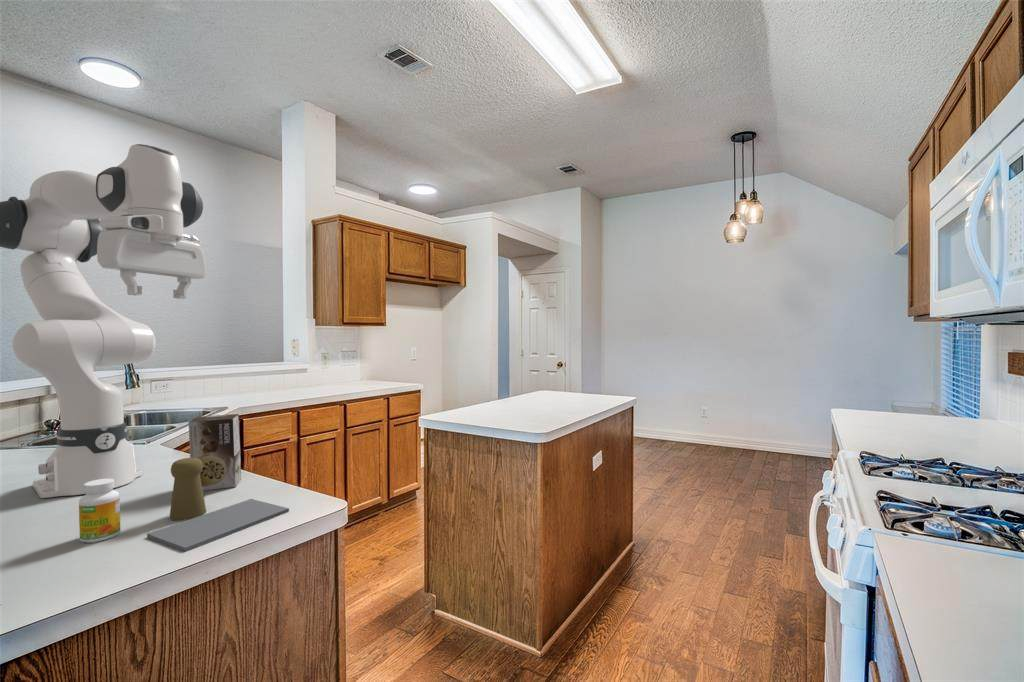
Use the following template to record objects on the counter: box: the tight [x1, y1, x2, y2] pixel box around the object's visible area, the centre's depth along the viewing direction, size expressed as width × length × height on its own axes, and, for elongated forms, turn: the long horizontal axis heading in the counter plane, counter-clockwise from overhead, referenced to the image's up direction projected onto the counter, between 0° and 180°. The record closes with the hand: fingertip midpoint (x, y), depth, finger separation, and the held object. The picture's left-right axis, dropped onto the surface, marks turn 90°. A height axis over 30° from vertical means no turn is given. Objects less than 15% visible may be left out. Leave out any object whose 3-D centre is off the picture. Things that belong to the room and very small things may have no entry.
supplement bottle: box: [78, 479, 121, 544], centre depth 82 cm, size 5×5×10 cm
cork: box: [168, 457, 207, 522], centre depth 92 cm, size 6×6×11 cm
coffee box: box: [188, 413, 242, 491], centre depth 110 cm, size 9×6×16 cm
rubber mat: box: [146, 498, 290, 552], centre depth 88 cm, size 12×19×1 cm, turn 152°
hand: (158, 296), depth 95 cm, fingers open, 8 cm apart
